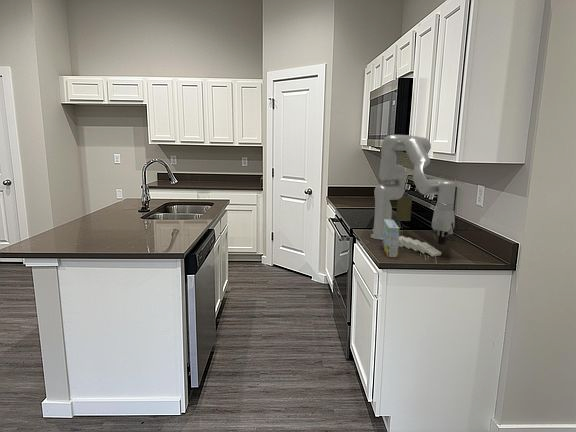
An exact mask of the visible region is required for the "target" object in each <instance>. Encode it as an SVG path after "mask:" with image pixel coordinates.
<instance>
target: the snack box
mask: <svg viewBox="0 0 576 432" xmlns="http://www.w3.org/2000/svg"><path fill="white" fill-rule="evenodd" d="M400 229H401V228H400V227H399V225H397V223H396V222H395V219H391V220H390V219H384V223H383V240H382V249H383V250H384V253H385V255H386V258H398V257H399V246H398V245H399V236H400Z"/></svg>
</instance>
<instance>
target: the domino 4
mask: <svg viewBox="0 0 576 432" xmlns="http://www.w3.org/2000/svg"><path fill="white" fill-rule="evenodd" d="M416 246H418V247H419V248H421V249H422V250H423V251H425V252H426V253H425V254H428V255H430V256H431V257H432V258H433V257H438V256H441V255H442V251H440V250H438V249H436V248H435V247H434V246H433V245H430V244H429V243H427V242H426V241H424V242H423V241H422V242H421V243H417V245H416Z"/></svg>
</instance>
